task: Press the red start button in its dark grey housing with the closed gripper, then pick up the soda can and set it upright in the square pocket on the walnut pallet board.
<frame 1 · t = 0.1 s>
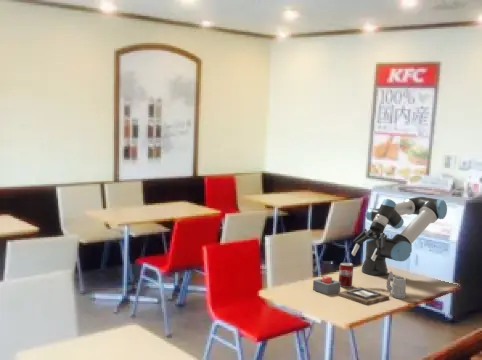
hand: (362, 257, 320), 15 cm above the table, tool tilted 35°, fingers open, 13 cm apart
start button: (326, 282, 308), point 5 cm above the table, slide at 0.0 cm
soda can: (345, 286, 319), on the table
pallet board: (363, 297, 299), on the table
button housing: (326, 290, 308), on the table
mug: (395, 295, 305), on the table
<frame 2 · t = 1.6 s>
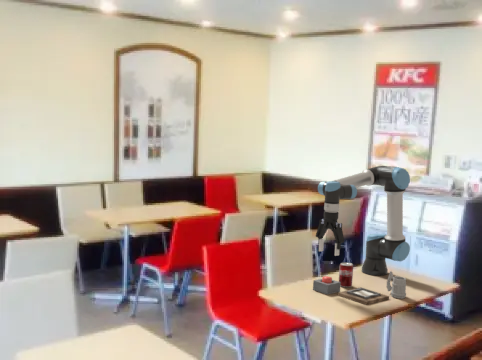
hand: (328, 253, 306), 20 cm above the table, tool pointing down, fingers open, 10 cm apart
nothing on the table moved.
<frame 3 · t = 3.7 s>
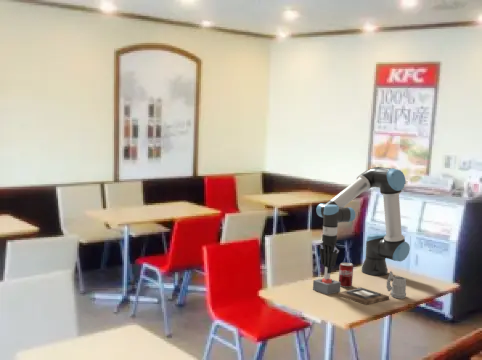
hand: (327, 278, 307), 6 cm above the table, tool pointing down, fingers closed
start button: (326, 283, 308), point 4 cm above the table, slide at 0.9 cm, touching gripper
everything else where it was.
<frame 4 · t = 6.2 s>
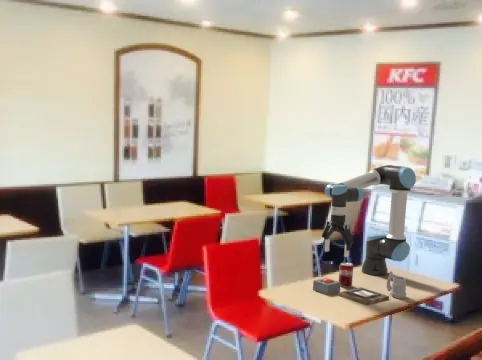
hand: (336, 253, 311), 19 cm above the table, tool pointing down, fingers open, 13 cm apart
start button: (326, 284, 308), point 4 cm above the table, slide at 1.0 cm
everything else where it was.
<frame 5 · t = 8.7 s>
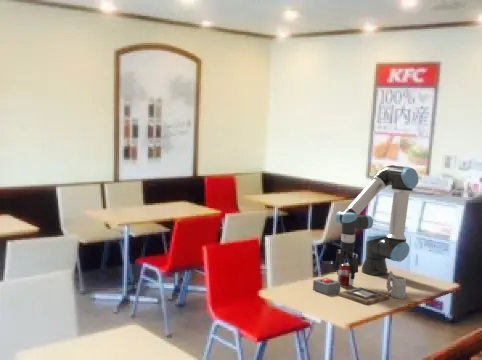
hand: (345, 282, 319), 2 cm above the table, tool pointing down, fingers closed on soda can, 7 cm apart
soda can: (345, 286, 319), on the table, touching gripper
everything else where it was.
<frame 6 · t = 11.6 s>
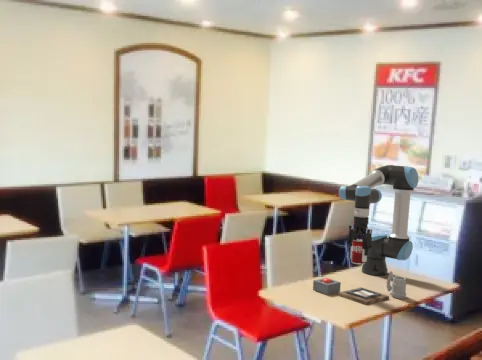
hand: (358, 259, 304), 18 cm above the table, tool pointing down, fingers closed on soda can, 7 cm apart
soda can: (357, 263, 304), point 16 cm above the table, touching gripper
everything else where it was.
when the fingers open (5 cm above the table, at t = 14.8 s): soda can drops 2 cm, resting on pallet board.
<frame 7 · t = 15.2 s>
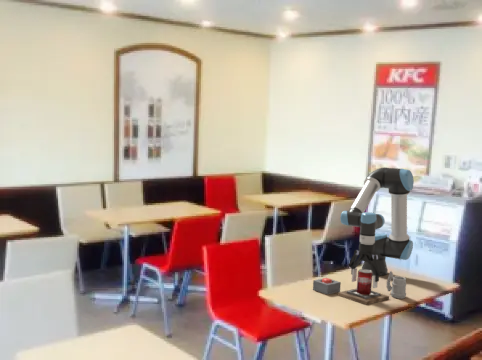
hand: (364, 284, 299), 7 cm above the table, tool pointing down, fingers open, 13 cm apart
soda can: (363, 294, 299), point 2 cm above the table, touching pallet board
everything else where it was.
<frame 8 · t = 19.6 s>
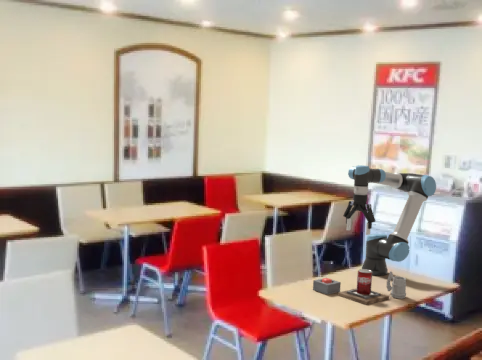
hand: (358, 232, 321), 29 cm above the table, tool pointing down, fingers open, 13 cm apart
nothing on the table moved.
at the end: start button slide at 1.0 cm; soda can 0.0 cm off-centre on the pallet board, point 1.5 cm above the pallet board's base; soda can tilted 0° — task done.
